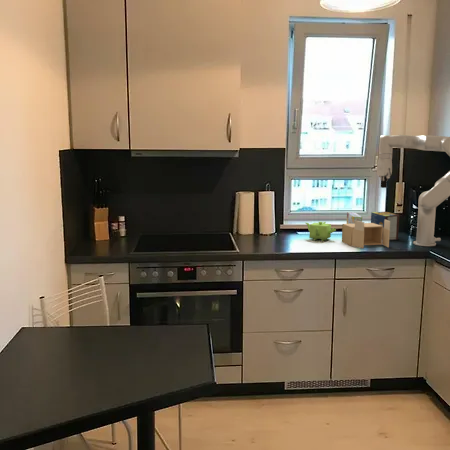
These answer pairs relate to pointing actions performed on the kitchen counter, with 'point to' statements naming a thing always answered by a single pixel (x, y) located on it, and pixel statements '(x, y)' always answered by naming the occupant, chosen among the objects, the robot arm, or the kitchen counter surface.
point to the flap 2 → (386, 233)
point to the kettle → (320, 231)
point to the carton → (370, 234)
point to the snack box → (353, 217)
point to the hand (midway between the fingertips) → (383, 187)
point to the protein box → (393, 218)
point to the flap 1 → (358, 235)
